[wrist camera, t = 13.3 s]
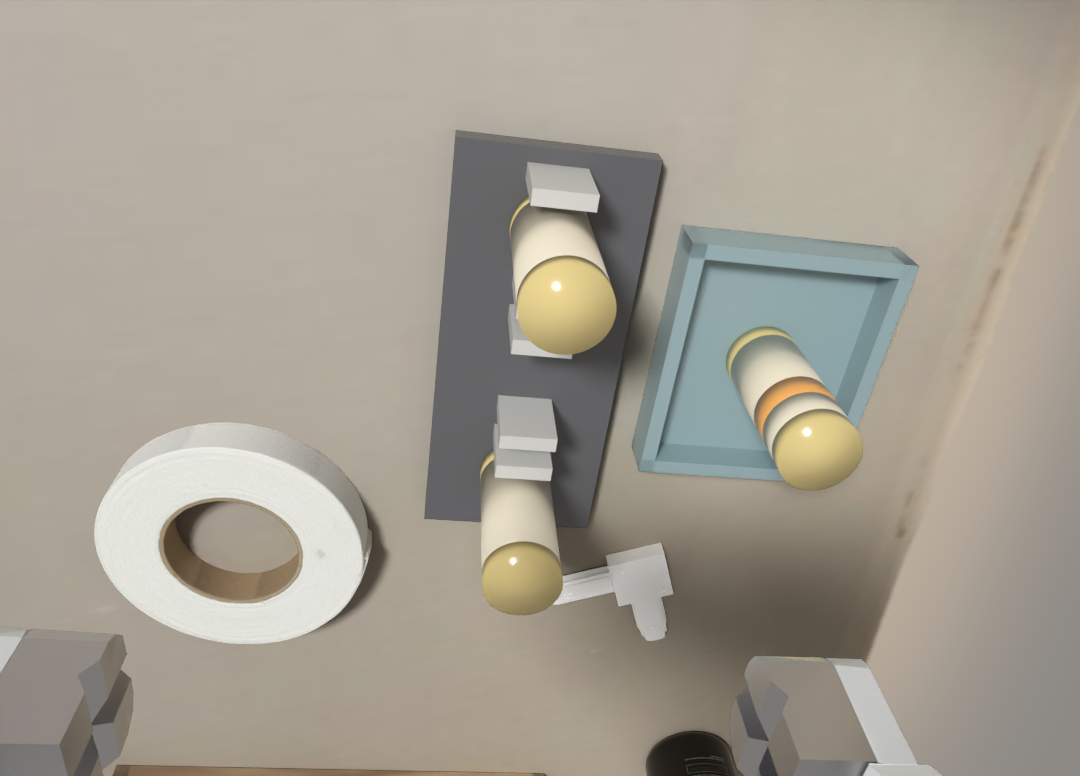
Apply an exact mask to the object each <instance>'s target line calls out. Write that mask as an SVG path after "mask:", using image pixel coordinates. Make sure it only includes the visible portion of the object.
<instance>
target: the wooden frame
mask: <svg viewBox="0 0 1080 776" xmlns="http://www.w3.org/2000/svg"><path fill="white" fill-rule="evenodd" d="M113 776H545V774H530V773H480V772H430V771H380V770H329V769H279V768H229V767H179V766H128V765H117V766H116V769H115V771H114V774H113Z"/></svg>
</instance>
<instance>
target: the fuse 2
mask: <svg viewBox="0 0 1080 776" xmlns="http://www.w3.org/2000/svg"><path fill="white" fill-rule="evenodd" d="M480 496H481V561H482V592H483V595H484V597H485V599H486V601H487V602H488V603H489V604H490V605H491V606H492V607H494V608H495V609H497V610H498V611H501V612H503V613H507V614H511V615H530V614H534V613H538V612H540V611H543V610H545V609H546V608H548V607H549V606H551V605H552V604H553V603H554V602H555V601H556V600H557V599H558V598H559V596H560V594H561V592H562V589H563V578H562V570H561V562H560V555H559V547H558V539H557V532H556V524H555V517H554V509H553V501H552V494H551V486H550V481H541V480H525V479H510V478H495V471H494V449H493V450H491V451H490V452H489V453H488V454H487V455H486V456H485V458H484V459H483V461H482V464H481V468H480Z"/></svg>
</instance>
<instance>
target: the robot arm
mask: <svg viewBox="0 0 1080 776" xmlns="http://www.w3.org/2000/svg"><path fill="white" fill-rule="evenodd" d="M126 655H127V652H126V648H125V644H124V639H123V636H122V635H118V634H108V633H91V632H75V631H59V630H42V629H17V628H0V776H103V773H102V770H103V769H104V768H106V767H107V766H108V765H109V764H111V763H112V762H113V761H114V760H115V759H117V758H118V757H119V756H120V754H121V751H122V748H123V746H124V743H125V740H126V738H127V735H128V731H129V726H130V721H131V717H132V712H133V687H132V680H131V678H130V677H129V676H127V675H126V674H125V673H124V672H123V671H122V670H120V669H121V667H122V664H123V662H124V660H125V657H126ZM744 676H745V679H746V682H747V685H748V688H747V689H746V690H744V691H743V692H742V693H740V694H739V695H737V696H736V697H735V701H734V704H733V707H732V710H731V713H730V732H729V734H730V741H731V748H732V753H733V757H734V760H735V764H736V767H737V769H738V770H739V771H740V772H741V773H742V774H743V775H744V776H942V775H941V774H940V773H939V772H937V771H936V770H935V769H933V768H932V767H931V766H930V765H925V764H918V762H917V760H916V758H915V756H914V754H913V752H912V750H911V748H910V746H909V744H908V742H907V740H906V738H905V736H904V735H903V733H902V731H901V729H900V727H899V725H898V723H897V721H896V719H895V717H894V715H893V713H892V711H891V709H890V707H889V705H888V703H887V701H886V699H885V697H884V695H883V694H882V691H881V689H880V687H879V685H878V683H877V682H876V680H875V678H874V676H873V674H872V672H871V670H870V668H869V666H868V665H867V664H866V663H865V662H864V661H863V660H862V659H839V658H825V659H823V658H821V657H781V656H755V657H754V658H752V659H751V660H750V661H749V663H748V665H747V668H746V671H745V673H744Z"/></svg>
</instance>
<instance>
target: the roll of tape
mask: <svg viewBox="0 0 1080 776" xmlns="http://www.w3.org/2000/svg"><path fill="white" fill-rule="evenodd" d="M214 501H229V502H237V503H243V504H247V505H250V506H253V507H256V508H259V509H261V510H263V511H265V512H267V513H269V514H270V515H272V516H273V517H275V518H276V519H278V520H279V521H280V522H281V523H282V524H283V525H284V526H285V527H286V528H287V529H288V530H289V532H290V533H291V534H292V536H293V538H294V540H295V542H296V545H297V548H298V553H297V555H296V556H295V557H294V558H293V559H291V560H290V561H289V562H287V563H286V564H284V565H282V566H280V567H278V568H276V569H273V570H270V571H267V572H262V573H236V572H230V571H226V570H222V569H219V568H217V567H214V566H212V565H210V564H208V563H206V562H204V561H203V560H201V559H200V558H198V557H197V556H196V555H195V554H193V553H192V552H191V551H190V550H189V549H188V548H187V546H186V545H185V544H184V542H183V541H182V539H181V537H180V535H179V533H178V530H177V526H176V517H177V516H178V515H179V514H180V513H181V512H183V511H184V510H186V509H188V508H190V507H193V506H195V505H198V504H202V503H207V502H214ZM94 538H95V545H96V550H97V554H98V557H99V559H100V562H101V564H102V566H103V568H104V570H105V572H106V574H107V575H108V577H109V578H110V580H111V581H112V583H113V584H114V585H115V587H116V588H117V589H118V590H119V591H120V592H121V593H122V594H123V595H124V596H125V597H126V598H127V599H128V600H129V601H130V602H131V603H132V604H133V605H134V606H136V607H137V608H138V609H139V610H141V611H142V612H144V613H145V614H147V615H148V616H150V617H152V618H153V619H155V620H157V621H159V622H160V623H162V624H164V625H166V626H169V627H171V628H173V629H175V630H178V631H180V632H183V633H186V634H189V635H192V636H195V637H199V638H203V639H207V640H212V641H218V642H224V643H234V644H262V643H272V642H279V641H284V640H288V639H292V638H296V637H298V636H301V635H304V634H306V633H309V632H311V631H313V630H315V629H317V628H318V627H320V626H322V625H323V624H325V623H327V622H328V621H329V620H331V619H332V618H334V617H335V616H336V615H337V614H338V613H340V612H341V611H342V609H343V608H344V607H345V606H346V605H347V604H348V603H349V601H350V600H351V598H352V597H353V595H354V593H355V592H356V590H357V588H358V586H359V584H360V583H361V580H362V577H363V574H364V572H365V569H366V566H367V563H368V559H369V555H370V551H371V546H372V532H371V530H369V529H368V525H367V517H366V512H365V509H364V506H363V503H362V501H361V499H360V496H359V494H358V492H357V490H356V489H355V487H354V486H353V484H352V483H351V482H350V480H349V479H348V478H347V476H346V475H345V474H344V473H343V472H342V471H341V470H340V469H339V468H338V467H337V466H336V465H335V464H334V463H333V462H332V461H331V460H330V459H328V458H327V457H326V456H325V455H323V454H322V453H321V452H319V451H318V450H316V449H314V448H313V447H311V446H310V445H308V444H306V443H304V442H302V441H300V440H298V439H296V438H294V437H292V436H289V435H287V434H284V433H281V432H279V431H276V430H273V429H269V428H265V427H260V426H255V425H250V424H242V423H226V422H221V423H207V424H200V425H193V426H188V427H184V428H180V429H177V430H174V431H171V432H169V433H166V434H164V435H161V436H159V437H157V438H155V439H153V440H151V441H150V442H148V443H147V444H145V445H144V446H142V447H141V448H140V449H139V450H137V451H136V452H135V453H134V454H133V455H132V456H131V457H130V458H129V459H128V461H127V462H126V463H125V464H124V465H123V467H122V469H121V470H120V472H119V473H118V475H117V477H116V478H115V480H114V481H113V483H112V485H111V486H110V488H109V490H108V491H107V493H106V495H105V496H104V498H103V500H102V502H101V504H100V507H99V509H98V512H97V516H96V521H95V529H94Z"/></svg>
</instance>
